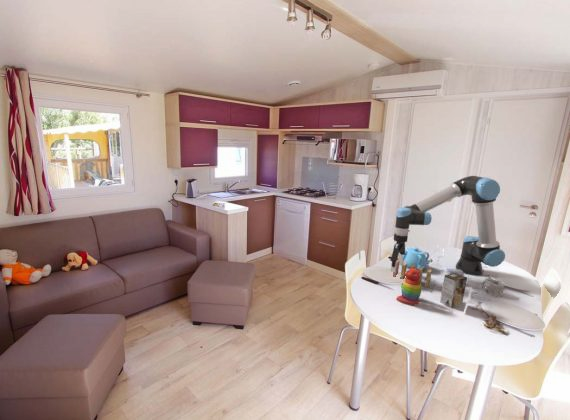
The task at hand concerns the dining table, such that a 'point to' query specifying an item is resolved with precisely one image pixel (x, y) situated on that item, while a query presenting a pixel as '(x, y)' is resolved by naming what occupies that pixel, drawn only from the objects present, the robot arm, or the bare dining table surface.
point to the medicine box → (454, 271)
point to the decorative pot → (415, 258)
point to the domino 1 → (396, 268)
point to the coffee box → (453, 290)
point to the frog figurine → (495, 326)
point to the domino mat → (430, 288)
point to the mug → (494, 287)
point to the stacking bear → (411, 288)
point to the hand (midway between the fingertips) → (396, 268)
